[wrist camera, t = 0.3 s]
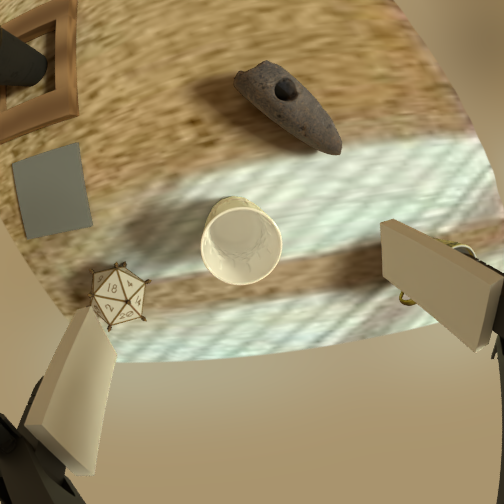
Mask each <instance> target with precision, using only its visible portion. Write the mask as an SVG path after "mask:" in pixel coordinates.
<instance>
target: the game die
mask: <svg viewBox="0 0 504 504" xmlns="http://www.w3.org/2000/svg"><path fill="white" fill-rule="evenodd" d="M126 265H127V264H126V261H125V262H124V263H123V267H118V263H117V262H116V263H115V264H114V267H115V268H112V269H108V270H103V271H99V272H94V270H93V269H89V271H90V273H91V274H93V279H92V288H91V293H89V294H88V296H89V297H90V306H92V308H93V310H94V311H95V312H96V313H97V314H98V315H99V316H100V317H101V318H102V319H103V320H104V321H105V322H106V323H107V324H109V326H108V328H107V329H108V332H109V331H110V330H111V328H112V327H111V326H112V325H116V324H119V323H123V322H126V321H130V320H133V319H137V318H141V320H143V321H146V317H144V316H142V310H143V302H144V293H145V285H146V284H148V283H150V282H151V280H149V279H148V280H146V281H145V282H144V281H143V280H142V279H140V278H139V277H137V276H136V275H135V274H133V273H132V272H131V271H129V270H128V269H127V268H125V267H126ZM86 307H89V306H86Z"/></svg>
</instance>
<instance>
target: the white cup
mask: <svg viewBox="0 0 504 504" xmlns="http://www.w3.org/2000/svg"><path fill="white" fill-rule="evenodd" d="M200 251H201V256H202V260H203V262H204V264H205V266H206V268H207V269H208V270H209V271H210V273H211V274H212V275H214V276H215V277H216V278H218V279H219V280H221V281H223V282H226V283H229V284H233V285H247V284H251V283H254V282H257V281H259V280H261V279H263V278H264V277H266V276H267V275H268V274H269V273H270V272H271V271H272V270H273V269H274V268H275V266H276V265H277V263H278V261H279V259H280V256H281V252H282V238H281V234H280V231H279V229H278V227H277V225H276V224H275V222H274V221H273V220H272V219H271V218H270V217H269V216H268V215H267V214H266V213H265V212H264V211H263V210H262V209H261V208H259V207H258V206H257V205H256V204H254V203H253V202H251V201H249V200H247V199H246V198H243V197H236V196H231V197H228V198H225V199H222V200H220V201H219V202H218V203H217V204H216V205H215V206H214V207H212V209H211V212H210V214H209V215H208V217H207V220H206V223H205V226H204V230H203V234H202V238H201V244H200Z"/></svg>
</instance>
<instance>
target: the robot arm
mask: <svg viewBox="0 0 504 504" xmlns="http://www.w3.org/2000/svg"><path fill="white" fill-rule="evenodd" d="M380 231H381V247H382V270H383V277H384V278H386V279H387V280H388V281H390V282H391V283H392V284H393V285H395V286H396V287H397V288H398V289H400V290H401V291H402V292H403V293H405V294H406V295H407V296H408V297H410V298H411V299H412V300H413V301H414V302H416V303H417V304H418V305H419V306H421V307H422V308H423V309H424V310H425V311H427V312H428V313H429V314H430V315H431V316H433V317H434V318H435V319H436V320H437V321H439V322H440V323H441V324H442V325H444V327H446V328H447V329H448V330H449V331H450V332H451V333H453V334H454V335H455V336H456V337H457V338H458V339H460V340H461V341H462V342H463V343H464V344H465V345H466V346H467V347H469V348H470V349H471V350H472V351H473V352H474V353H476V352H478V351H479V350H480V349H482V348H483V347H485V346H486V345H487V344H489V340H490V337H491V333H492V330H493V331H494V332H495V333H497V334H498V336H497V339H496V343H495V346H494V349H493V352H492V356H491V359H494V356H495V354H496V353H498V358H497V359H498V362H499V371H500V381H501V397H502V456H501V471H500V481H499V489H498V497H497V504H504V273H502V272H500V271H499V270H497V269H495V268H493V267H492V266H490V265H486V263H484V262H483V261H479V259H477V258H475V257H473V256H472V255H470V254H466V253H462V252H459V251H457V250H455V249H453V248H451V247H449V246H447V245H445V244H443V243H442V242H440V241H438V240H436V239H434V238H432V237H430V236H428V235H426V234H424V233H422V232H420V231H418V230H416V229H414V228H411V227H409V226H407V225H405V224H403V223H401V222H399V221H397V220H395V219H391V220H388V221H384V222H381V223H380ZM116 359H117V353H116V351H115V350H114V348H113V346H112V344H111V343H110V341H109V339H108V337H107V335H106V333H105V331H104V330H103V328H102V326H101V324H100V322H99V320H98V318H97V316H96V314H95V312H94V310H93V308H92V306H89V307H85V308H81V309H78V310H77V311H76V313H75V315H74V317H73V318H72V320H71V322H70V324H69V326H68V328H67V330H66V332H65V334H64V336H63V338H62V340H61V342H60V344H59V346H58V348H57V350H56V352H55V354H54V356H53V358H52V360H51V362H50V365H49V367H48V369H47V371H46V373H45V375H44V376H43V377H42V378H41V379H40V380H39V381H38V383H37V384H36V385H35V388H34V389H33V392H32V394H31V397H30V399H29V401H28V405H27V406H26V408H25V411H24V413H23V415H22V418H21V420H20V423H19V426H18V428H17V429H16V428H15V427H14V426H13V425H12V423H11V422H10V421H9V420H8V419H7V418H6V417H5V416H4V414H1V413H0V501H1V504H86V503H85V502H84V500H83V499H82V497H81V496H80V494H79V493H78V492H77V490H76V488H75V487H74V486H73V484H72V482H71V481H70V480H69V479H68V477H66V476H65V475H64V474H65V469H66V467H67V468H68V469H69V470H70V471H71V472H72V473H74V474H75V475H76V476H94V475H95V467H96V460H97V454H98V447H99V441H100V435H101V429H102V424H103V419H104V413H105V408H106V403H107V398H108V393H109V389H110V384H111V379H112V375H113V371H114V367H115V363H116Z"/></svg>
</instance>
